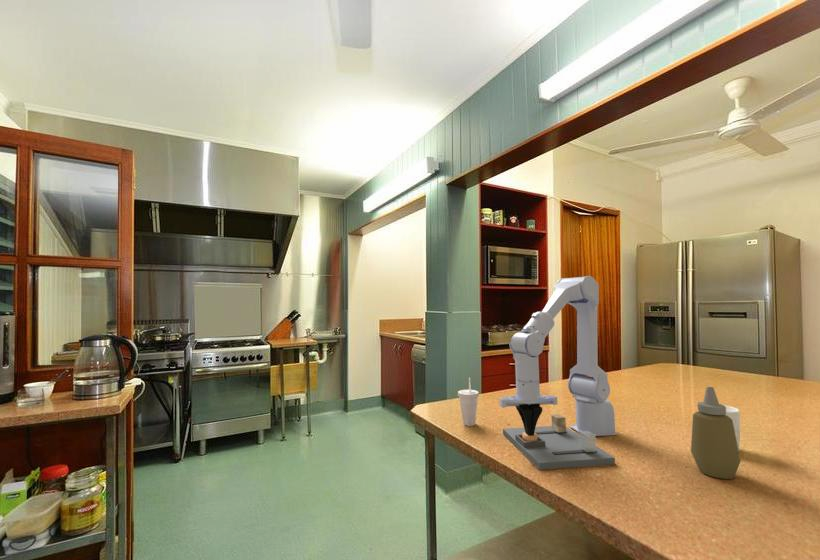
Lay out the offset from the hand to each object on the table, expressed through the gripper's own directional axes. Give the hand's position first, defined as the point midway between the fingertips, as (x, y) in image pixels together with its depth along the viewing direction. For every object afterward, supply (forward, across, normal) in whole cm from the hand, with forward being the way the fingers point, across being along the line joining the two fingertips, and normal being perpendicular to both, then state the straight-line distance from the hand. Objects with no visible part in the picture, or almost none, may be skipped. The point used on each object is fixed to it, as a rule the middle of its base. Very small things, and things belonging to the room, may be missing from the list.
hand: (529, 434), depth 91 cm
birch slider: (+2, -11, -6) cm, 13 cm away
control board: (+4, -6, 0) cm, 7 cm away
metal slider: (+2, -11, +7) cm, 13 cm away
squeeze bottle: (+4, -33, +18) cm, 38 cm away
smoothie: (+4, +10, -21) cm, 24 cm away
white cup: (+4, -46, +7) cm, 47 cm away
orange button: (+2, 0, 0) cm, 2 cm away
